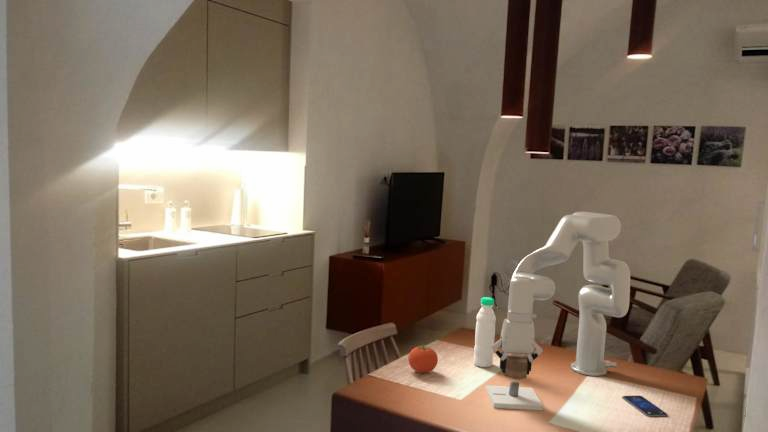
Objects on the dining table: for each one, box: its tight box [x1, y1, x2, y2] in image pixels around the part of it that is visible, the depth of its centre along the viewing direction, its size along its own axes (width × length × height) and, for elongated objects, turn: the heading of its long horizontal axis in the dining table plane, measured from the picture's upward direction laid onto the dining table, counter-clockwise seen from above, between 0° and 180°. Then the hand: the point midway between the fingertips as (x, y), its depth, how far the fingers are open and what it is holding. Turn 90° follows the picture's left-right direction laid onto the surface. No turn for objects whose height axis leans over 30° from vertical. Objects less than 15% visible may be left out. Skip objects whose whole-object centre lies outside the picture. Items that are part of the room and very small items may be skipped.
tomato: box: [408, 344, 439, 374], centre depth 206 cm, size 10×10×10 cm
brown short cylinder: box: [502, 353, 528, 380], centre depth 185 cm, size 7×7×6 cm
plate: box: [485, 380, 544, 411], centre depth 186 cm, size 15×14×6 cm
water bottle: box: [472, 296, 497, 368], centre depth 216 cm, size 7×7×25 cm
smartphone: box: [621, 395, 669, 418], centre depth 187 cm, size 7×1×15 cm
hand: (514, 371), depth 185 cm, fingers closed on brown short cylinder, 6 cm apart
